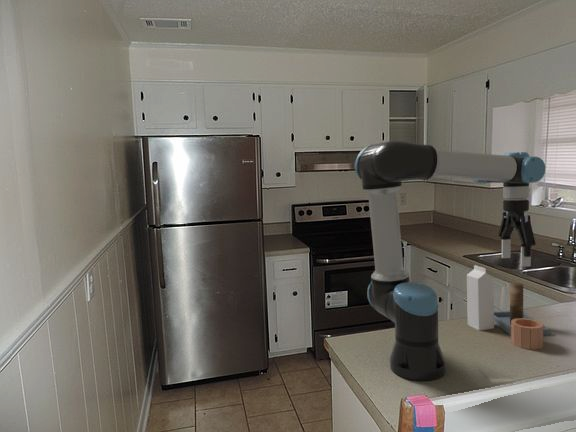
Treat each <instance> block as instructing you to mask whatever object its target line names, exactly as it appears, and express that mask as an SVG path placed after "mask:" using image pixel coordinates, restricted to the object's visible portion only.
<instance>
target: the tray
mask: <svg viewBox="0 0 576 432" xmlns="http://www.w3.org/2000/svg"><path fill="white" fill-rule="evenodd" d="M523 318H527V319H533V320H536V319H535V318H533V317H532V316H530V315H529V314H527V313H526V312H524V311H523ZM494 324H496V325H497V326H499V328H500V329H502V330H503V331H504V332H506V333H507V335H509V336H510V337H511V325H510V310H504V311H502V310H499V311H494ZM550 335H551V329H550V328H548V326H545V325H544V324H543V336H550Z"/></svg>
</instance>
